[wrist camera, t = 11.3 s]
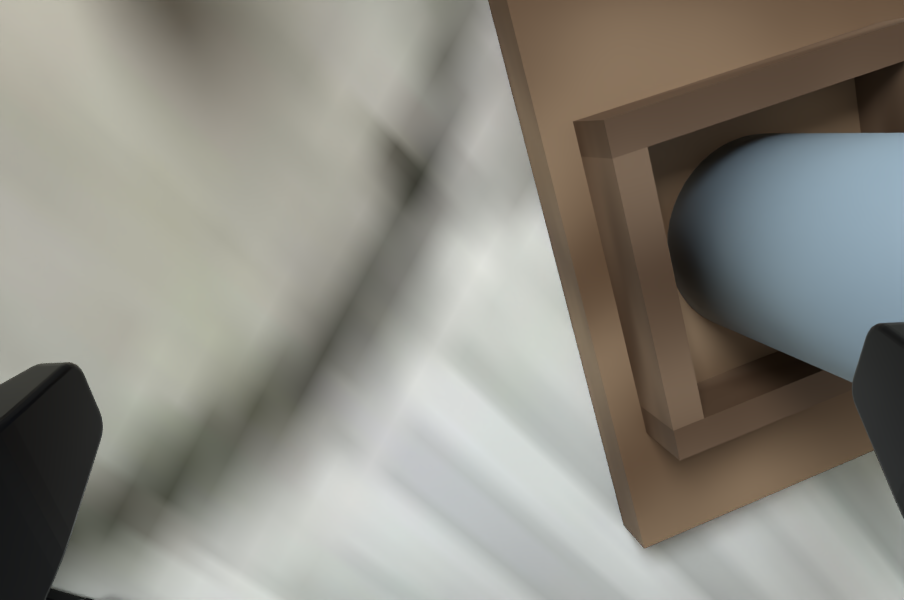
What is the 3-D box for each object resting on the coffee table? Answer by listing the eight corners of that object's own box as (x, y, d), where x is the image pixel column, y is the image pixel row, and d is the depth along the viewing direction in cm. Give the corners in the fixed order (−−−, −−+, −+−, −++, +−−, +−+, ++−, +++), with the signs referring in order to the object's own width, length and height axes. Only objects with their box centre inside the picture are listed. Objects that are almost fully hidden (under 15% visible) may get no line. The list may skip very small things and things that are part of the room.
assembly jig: (910, 404, 27) (999, 442, 23) (623, 524, 25) (676, 584, 22) (850, -114, 22) (953, -160, 18) (485, -9, 20) (527, -38, 17)
